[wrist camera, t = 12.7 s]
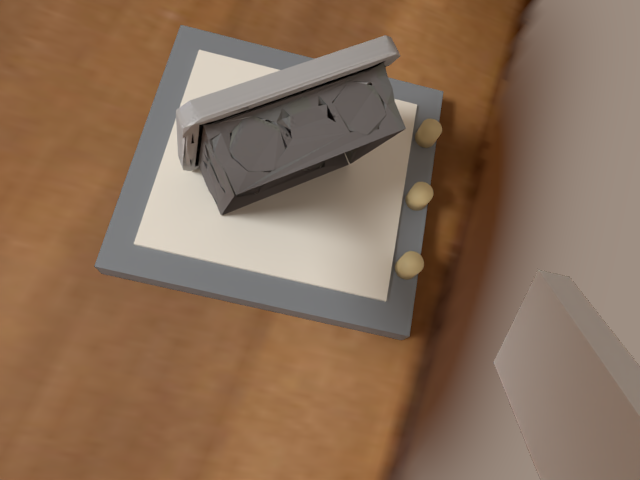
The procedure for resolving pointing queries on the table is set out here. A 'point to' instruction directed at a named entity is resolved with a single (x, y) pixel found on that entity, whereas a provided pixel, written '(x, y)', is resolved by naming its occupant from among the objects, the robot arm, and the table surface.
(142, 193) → the plate
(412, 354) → the table surface
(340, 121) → the electrical switch
